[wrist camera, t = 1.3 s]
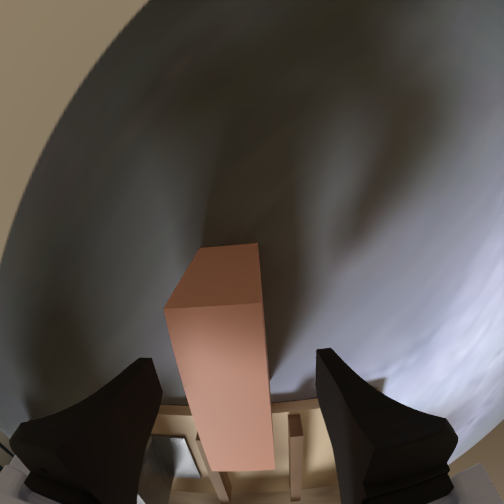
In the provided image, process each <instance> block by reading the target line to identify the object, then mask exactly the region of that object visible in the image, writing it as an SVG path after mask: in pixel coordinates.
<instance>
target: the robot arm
mask: <svg viewBox="0 0 504 504" xmlns="http://www.w3.org/2000/svg"><path fill="white" fill-rule="evenodd" d="M315 385H316V391H317V397H318V402H319V406H320V409H321V413H322V416H323V419H324V422H325V425H326V429H327V432H328V435H329V438H330V441H331V445H332V449H333V454H334V459H335V465H336V471H337V478H338V484H339V492H340V500H341V504H503V502H502V500H501V498H500V496H499V494H498V492H497V490H496V488H495V487H494V485H493V483H492V481H491V480H490V478H489V476H488V474H487V472H486V470H485V469H484V467H483V465H482V464H481V463H478V464H476V465H474V466H472V467H470V468H468V469H466V470H464V471H462V472H460V473H458V474H456V475H455V476H453V477H452V478H451V479H450V478H449V476H448V472H449V471H450V468H449V466H448V464H447V461H448V460H449V458H450V456H451V455H452V453H453V451H454V450H455V448H456V445H457V443H458V436H457V435H456V433H455V431H454V429H453V428H452V426H451V425H450V423H449V422H448V421H447V419H446V418H442V417H438V416H434V415H430V414H426V413H423V412H420V411H418V410H415V409H412V408H410V407H407V406H405V405H403V404H401V403H399V402H397V401H395V400H393V399H391V398H389V397H387V396H386V395H384V394H383V393H381V392H379V391H378V390H376V389H375V388H374V387H372V386H371V385H370V384H368V383H367V382H366V381H364V380H363V379H362V378H361V377H360V376H359V375H357V374H356V373H355V372H354V371H353V370H352V369H351V368H350V367H349V366H348V365H347V364H346V363H345V362H344V361H343V360H342V359H341V358H340V357H339V356H338V355H337V354H336V353H335V352H334V350H333V349H331V348H325V349H317V350H316V384H315ZM162 393H163V391H162V388H161V385H160V382H159V379H158V376H157V373H156V370H155V367H154V364H153V361H152V358H139V359H137V360H136V361H135V362H133V363H132V364H131V365H130V366H128V367H127V368H126V369H125V370H124V371H122V372H121V373H120V374H119V375H118V376H116V377H115V378H114V379H113V380H111V381H110V382H109V383H108V384H106V385H105V386H104V387H102V388H101V389H99V390H98V391H97V392H95V393H94V394H92V395H91V396H89V397H88V398H86V399H84V400H83V401H81V402H79V403H77V404H76V405H73V406H71V407H69V408H67V409H65V410H63V411H61V412H58V413H56V414H53V415H50V416H47V417H44V418H41V419H37V420H32V421H28V422H23V423H21V424H20V425H19V427H18V428H17V430H16V431H15V433H14V434H13V435H12V437H11V438H10V440H9V444H10V447H11V449H12V450H13V452H14V453H15V456H14V458H13V459H12V461H11V463H10V464H9V465H5V467H4V468H3V470H2V471H1V473H0V504H137V496H138V486H139V479H140V473H141V467H142V462H143V457H144V453H145V449H146V446H147V443H148V440H149V437H150V435H151V432H152V429H153V426H154V423H155V421H156V418H157V415H158V412H159V408H160V403H161V398H162Z"/></svg>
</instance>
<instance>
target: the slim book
mask: <svg viewBox="0 0 504 504" xmlns="http://www.w3.org/2000/svg"><path fill="white" fill-rule="evenodd" d="M164 313H165V318H166V322H167V326H168V330H169V334H170V338H171V342H172V346H173V350H174V354H175V358H176V362H177V365H178V369H179V373H180V376H181V380H182V383H183V387H184V390H185V393H186V397H187V400H188V403H189V407H190V410H191V413H192V416H193V419H194V422H195V425H196V428H197V431H198V434H199V437H200V440H201V443H202V446H203V449H204V452H205V454H206V457H207V460H208V463H209V465H210V468H211V471H261V470H275V454H274V438H273V423H272V408H271V393H270V379H269V367H268V354H267V342H266V330H265V318H264V306H263V295H262V283H261V271H260V260H259V248H258V243H251V244H239V245H228V246H217V247H205V248H200V249H199V250H198V252H197V253H196V255H195V257H194V258H193V260H192V262H191V263H190V265H189V267H188V268H187V270H186V272H185V273H184V275H183V277H182V278H181V280H180V282H179V283H178V285H177V287H176V288H175V290H174V292H173V293H172V295H171V297H170V298H169V300H168V302H167V304H166V305H165V307H164Z"/></svg>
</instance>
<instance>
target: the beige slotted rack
mask: <svg viewBox="0 0 504 504" xmlns="http://www.w3.org/2000/svg"><path fill="white" fill-rule="evenodd" d="M375 389H376V390H378V391H379V388H375ZM379 392H380V391H379ZM271 408H272V423H273V438H274V454H275V470H261V471H211V468H210V465H209V463H208V460H207V457H206V454H205V452H204V449H203V446H202V443H201V440H200V437H199V434H198V431H197V428H196V425H195V422H194V419H193V416H192V413H191V410H190V407H189V406H178V405H160V408H159V412H158V415H157V418H156V421H155V423H154V426H153V429H152V432H151V434H162V435H178V436H185V438H186V440H187V443H188V445H189V448H190V450H191V453H192V455H193V457H194V460H195V462H196V465H197V467H198V469H199V472H200V474H201V479H195V478H181V477H174V479H173V484H172V488H171V493H170V497H169V502H168V504H341V500H340V492H339V484H338V478H337V471H336V465H335V459H334V454H333V449H332V445H331V441H330V438H329V435H328V432H327V429H326V425H325V422H324V419H323V416H322V413H321V409H320V406H319V402H318V398H316V399H308V400H299V401H290V402H279V403H271Z"/></svg>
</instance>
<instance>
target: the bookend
mask: <svg viewBox="0 0 504 504" xmlns="http://www.w3.org/2000/svg"><path fill="white" fill-rule="evenodd" d="M174 477H181V478H195V479H201V474H200V472H199V469H198V467H197V465H196V462H195V460H194V457H193V455H192V453H191V450H190V448H189V445H188V443H187V440H186V438H185V436H178V435H162V434H151V435H150V437H149V440H148V443H147V446H146V449H145V453H144V457H143V462H142V467H141V473H140V479H139V486H138V496H137V502H138V503H139V504H168V502H169V497H170V493H171V488H172V484H173V479H174Z"/></svg>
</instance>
